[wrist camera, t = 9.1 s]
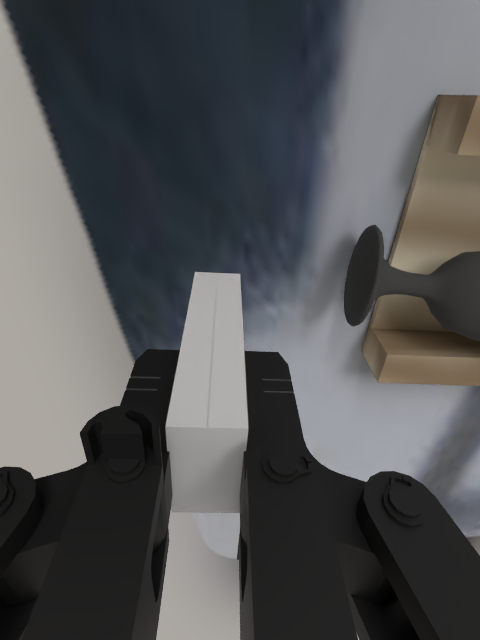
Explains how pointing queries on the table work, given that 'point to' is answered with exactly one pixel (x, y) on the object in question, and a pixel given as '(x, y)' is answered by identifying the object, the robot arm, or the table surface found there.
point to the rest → (432, 254)
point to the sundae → (414, 286)
